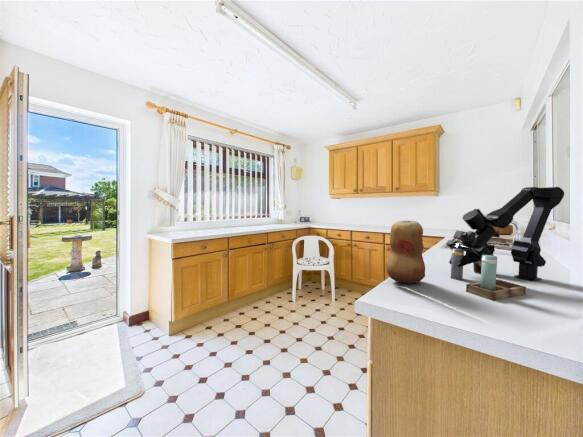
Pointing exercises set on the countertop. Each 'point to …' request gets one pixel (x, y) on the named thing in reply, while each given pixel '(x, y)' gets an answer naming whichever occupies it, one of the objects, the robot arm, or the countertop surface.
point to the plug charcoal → (455, 270)
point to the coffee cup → (479, 263)
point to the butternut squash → (406, 252)
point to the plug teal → (488, 272)
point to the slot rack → (497, 290)
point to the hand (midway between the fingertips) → (453, 264)
